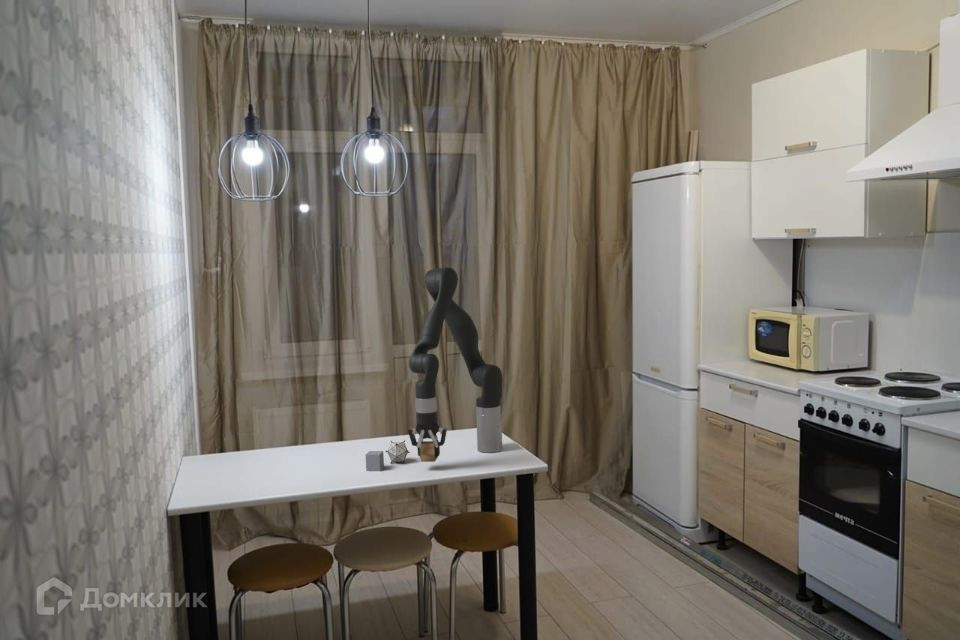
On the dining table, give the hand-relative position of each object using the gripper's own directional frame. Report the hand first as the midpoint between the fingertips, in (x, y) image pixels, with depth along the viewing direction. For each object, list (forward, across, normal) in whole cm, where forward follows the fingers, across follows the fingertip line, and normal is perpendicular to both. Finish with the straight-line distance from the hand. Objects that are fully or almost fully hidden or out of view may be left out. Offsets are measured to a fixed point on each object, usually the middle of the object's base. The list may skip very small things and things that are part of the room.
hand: (428, 456), depth 266 cm
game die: (+5, +14, -8) cm, 16 cm away
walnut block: (+1, 0, 0) cm, 1 cm away
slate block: (+4, +20, +1) cm, 20 cm away
